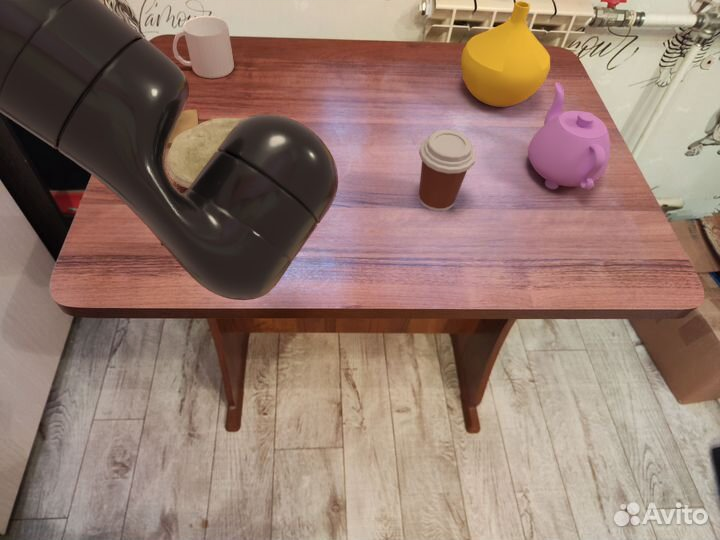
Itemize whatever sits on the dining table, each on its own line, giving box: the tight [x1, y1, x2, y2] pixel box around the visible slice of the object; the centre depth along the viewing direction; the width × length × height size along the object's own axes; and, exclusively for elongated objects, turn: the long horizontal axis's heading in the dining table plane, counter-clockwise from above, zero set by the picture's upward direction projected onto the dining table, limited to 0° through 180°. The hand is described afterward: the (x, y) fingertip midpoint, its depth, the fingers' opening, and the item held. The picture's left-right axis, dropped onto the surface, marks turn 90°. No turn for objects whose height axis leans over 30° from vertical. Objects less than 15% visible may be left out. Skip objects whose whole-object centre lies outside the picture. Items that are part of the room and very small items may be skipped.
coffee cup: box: [417, 129, 477, 212], centre depth 81 cm, size 9×9×12 cm
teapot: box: [527, 81, 611, 191], centre depth 88 cm, size 20×14×12 cm
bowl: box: [165, 117, 246, 189], centre depth 80 cm, size 14×18×15 cm
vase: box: [460, 0, 551, 108], centre depth 101 cm, size 18×18×19 cm
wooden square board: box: [167, 108, 200, 149], centre depth 93 cm, size 10×10×1 cm
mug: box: [172, 15, 235, 80], centre depth 104 cm, size 12×9×9 cm
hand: (221, 218), depth 59 cm, fingers open, 8 cm apart
